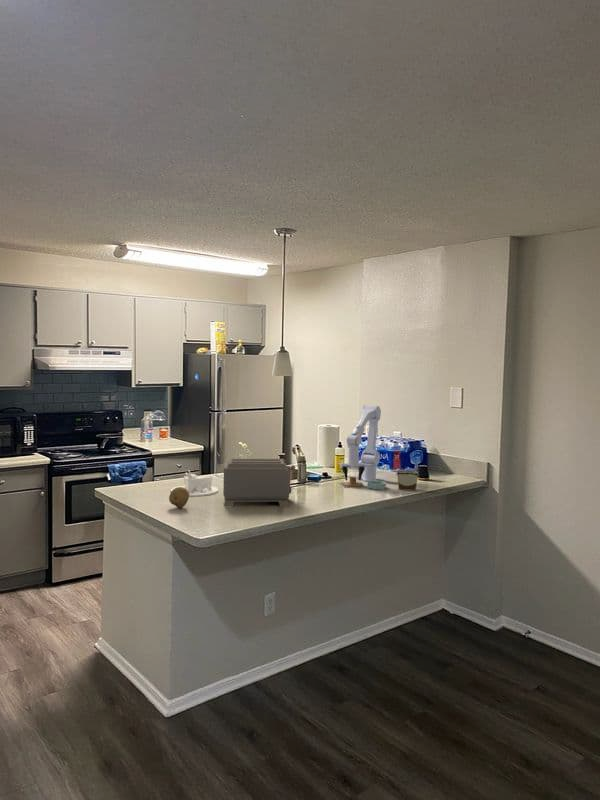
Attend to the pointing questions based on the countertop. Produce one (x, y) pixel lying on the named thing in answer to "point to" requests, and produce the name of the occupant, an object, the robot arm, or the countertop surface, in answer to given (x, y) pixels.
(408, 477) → the food container
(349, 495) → the countertop surface
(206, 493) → the dish
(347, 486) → the mat
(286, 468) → the toaster
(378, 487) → the bowl
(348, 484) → the lid
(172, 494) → the natural sponge
